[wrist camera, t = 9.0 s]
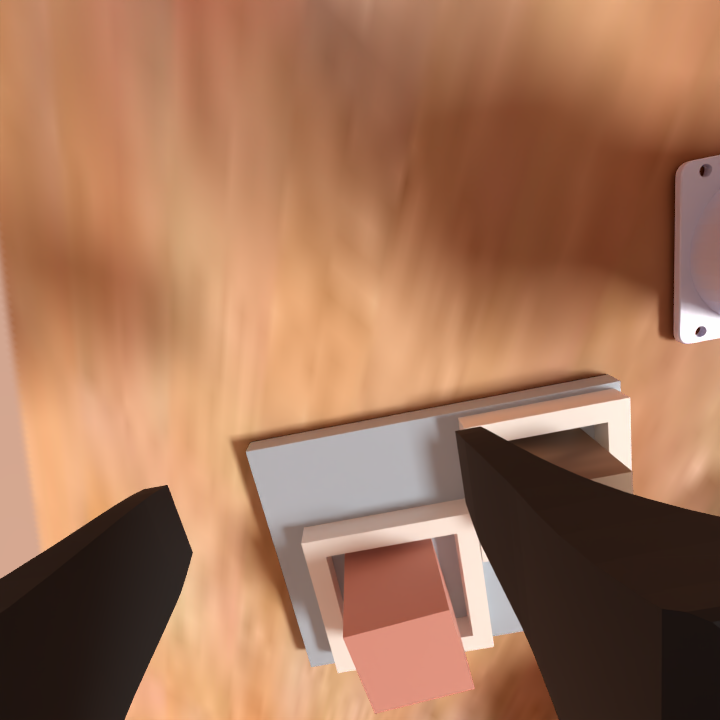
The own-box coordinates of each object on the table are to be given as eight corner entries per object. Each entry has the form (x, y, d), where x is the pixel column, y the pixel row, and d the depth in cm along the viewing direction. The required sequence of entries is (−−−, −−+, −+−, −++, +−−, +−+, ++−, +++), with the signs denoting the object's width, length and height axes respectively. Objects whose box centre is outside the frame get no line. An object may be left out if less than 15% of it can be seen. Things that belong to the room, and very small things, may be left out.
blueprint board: (607, 374, 21) (636, 390, 19) (615, 598, 25) (640, 632, 22) (250, 442, 21) (239, 464, 19) (312, 650, 25) (309, 688, 23)
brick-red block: (427, 527, 22) (449, 610, 17) (449, 594, 23) (474, 688, 18) (344, 551, 22) (342, 638, 17) (370, 615, 23) (375, 713, 19)
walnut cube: (579, 427, 20) (632, 471, 17) (583, 498, 21) (634, 554, 18) (497, 442, 21) (530, 490, 17) (505, 512, 22) (538, 571, 18)
